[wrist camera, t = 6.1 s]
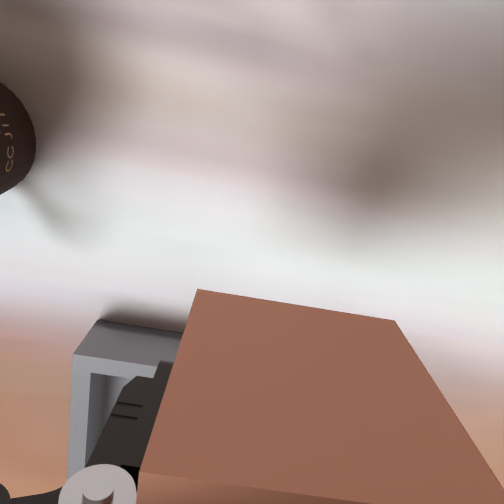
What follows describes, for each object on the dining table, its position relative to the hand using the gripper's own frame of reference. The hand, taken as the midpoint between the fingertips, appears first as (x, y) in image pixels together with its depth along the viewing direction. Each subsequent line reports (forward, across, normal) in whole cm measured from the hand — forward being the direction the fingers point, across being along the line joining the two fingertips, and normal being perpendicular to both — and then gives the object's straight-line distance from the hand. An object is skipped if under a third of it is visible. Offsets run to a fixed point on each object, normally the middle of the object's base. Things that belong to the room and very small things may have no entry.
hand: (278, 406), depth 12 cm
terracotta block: (+1, 0, 0) cm, 1 cm away
